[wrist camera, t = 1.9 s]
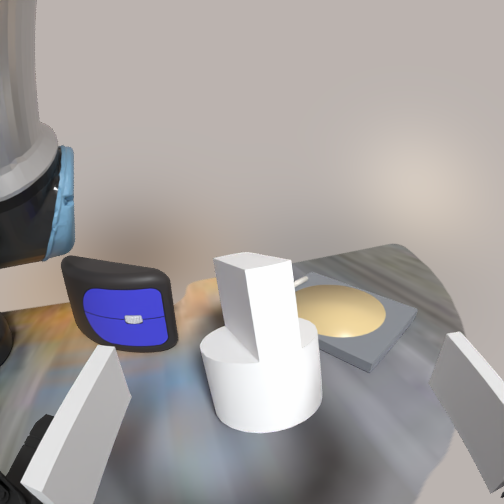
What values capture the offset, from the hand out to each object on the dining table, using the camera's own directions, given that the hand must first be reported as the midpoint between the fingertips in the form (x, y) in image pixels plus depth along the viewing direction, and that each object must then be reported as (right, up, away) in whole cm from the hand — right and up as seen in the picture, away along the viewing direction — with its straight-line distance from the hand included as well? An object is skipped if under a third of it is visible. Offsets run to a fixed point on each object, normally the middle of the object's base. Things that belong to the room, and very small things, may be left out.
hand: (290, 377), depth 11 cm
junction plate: (+9, -4, +28) cm, 29 cm away
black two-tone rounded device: (-17, -5, +24) cm, 30 cm away
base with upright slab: (0, -8, +13) cm, 15 cm away
